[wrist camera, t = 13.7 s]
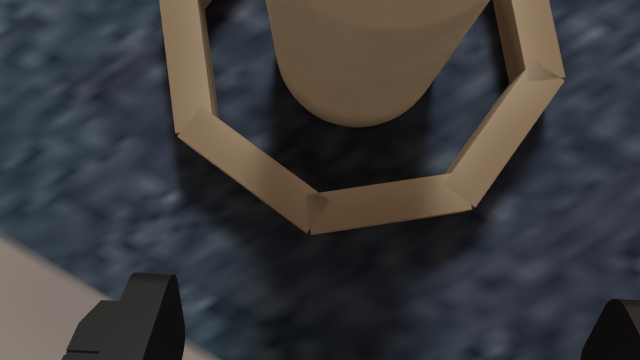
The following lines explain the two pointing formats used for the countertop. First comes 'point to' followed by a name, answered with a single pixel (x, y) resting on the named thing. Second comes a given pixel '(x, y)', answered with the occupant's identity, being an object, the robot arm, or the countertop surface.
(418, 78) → the candle
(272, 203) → the maple ring
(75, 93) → the countertop surface
